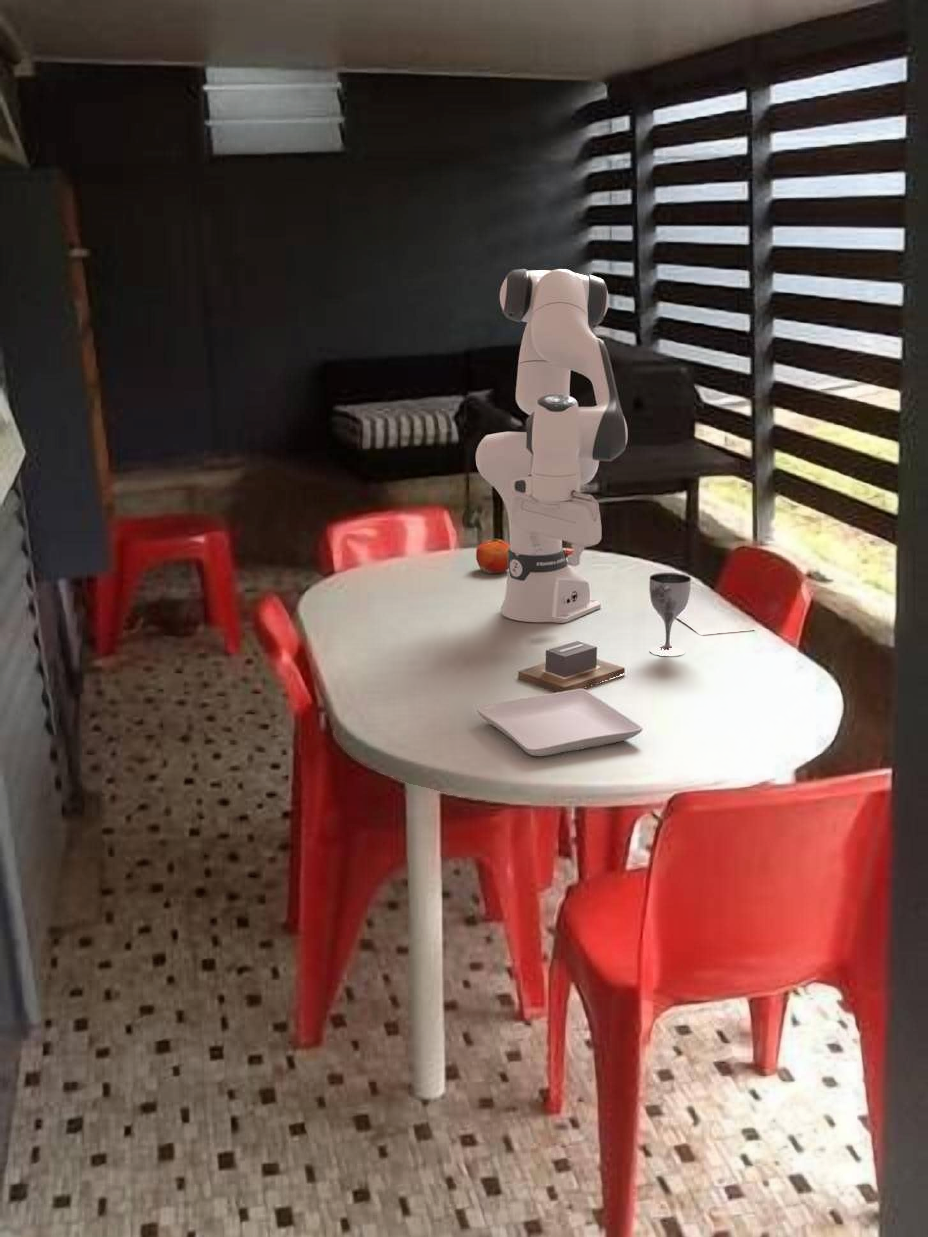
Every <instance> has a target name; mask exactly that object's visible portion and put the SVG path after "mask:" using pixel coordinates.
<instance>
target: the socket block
mask: <svg viewBox="0 0 928 1237" xmlns="http://www.w3.org/2000/svg"><path fill="white" fill-rule="evenodd" d="M597 655H598V646H594V645H591V644H589V643H585V642H582V641H579V640H576V641H573V642H569V643H566V644H563V645H559V646H555V647H553V648H550V649H546V650H545V663H546V668H545V671H547V672H550V673H553V674H556V675H559V676H562V677H568V676H571V675H574V674H577V673H581V672H584V671H587V670H590V669H593V668H596V664H597V659H598V657H597Z"/></svg>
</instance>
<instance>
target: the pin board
mask: <svg viewBox="0 0 928 1237" xmlns="http://www.w3.org/2000/svg"><path fill="white" fill-rule="evenodd" d="M545 668H546V662H544V663H540V664H538V665H534V666H531V667H528V668H524V669H521V670H517V673H518V674H517V679H518V680H521V681H524V682H526V683H529V684H531V683H532V684H531V685H535V686H538V687H540V688H542V689H546V690H548V689H549V691H551V690H552V691H551V692H553V693H557V692H563V691H570V690H575V689H584V688H585V687H588V688H591V687H592V686H591V685H594V686H596V685H595V684H597V683H600V682H602V681H605V680H609V679H610V678H613V677H616V676H619V675H620V674H623V673H625V671H626V670H625V667H624V666H620V665H617V664H614V663H611V662H608V661H605V660H602V659H599V658H597V664H596V668H593V669H590V670H587V671H584V672H581V673H577V674H574V675H571V676H568V677H562V676H559V675H556V674H553V673H550V672H547V671H545ZM625 674H626V673H625ZM609 681H610V680H609ZM600 684H601V683H600ZM597 685H598V684H597ZM590 686H591V687H590ZM585 689H586V688H585Z"/></svg>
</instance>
